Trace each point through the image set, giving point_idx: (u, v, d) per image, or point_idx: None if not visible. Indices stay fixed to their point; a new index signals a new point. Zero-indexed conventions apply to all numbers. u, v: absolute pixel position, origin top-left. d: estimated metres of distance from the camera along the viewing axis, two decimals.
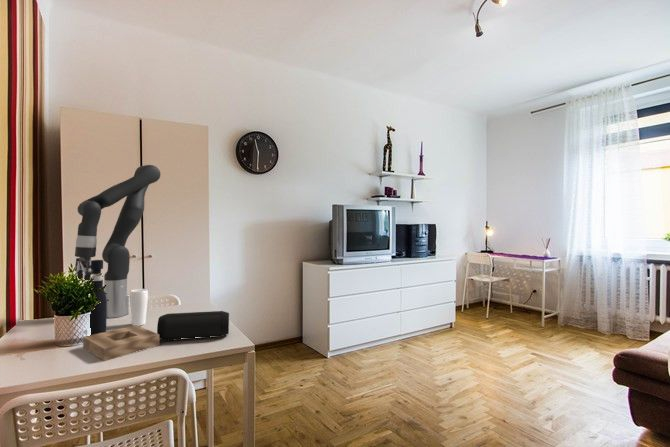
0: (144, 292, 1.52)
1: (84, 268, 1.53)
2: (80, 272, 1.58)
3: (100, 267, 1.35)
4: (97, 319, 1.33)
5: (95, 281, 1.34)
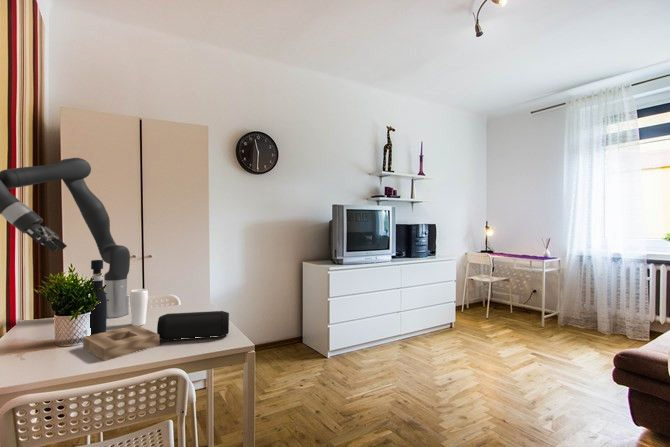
0: (144, 292, 1.52)
1: (37, 238, 1.26)
2: (55, 240, 1.34)
3: (100, 267, 1.35)
4: (97, 319, 1.33)
5: (95, 281, 1.34)
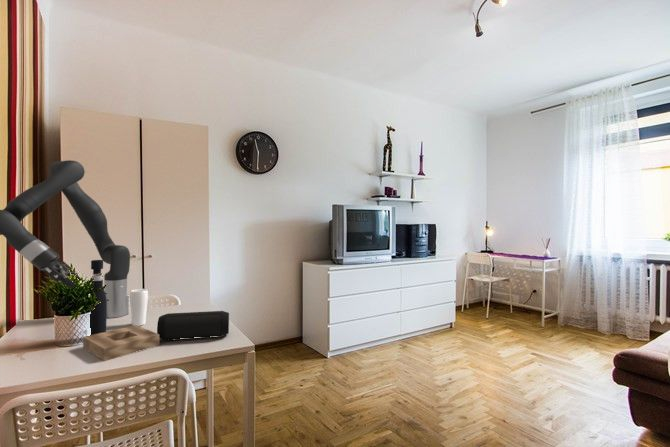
0: (144, 292, 1.52)
1: (55, 276, 1.28)
2: None
3: (100, 267, 1.35)
4: (97, 319, 1.33)
5: (95, 281, 1.34)
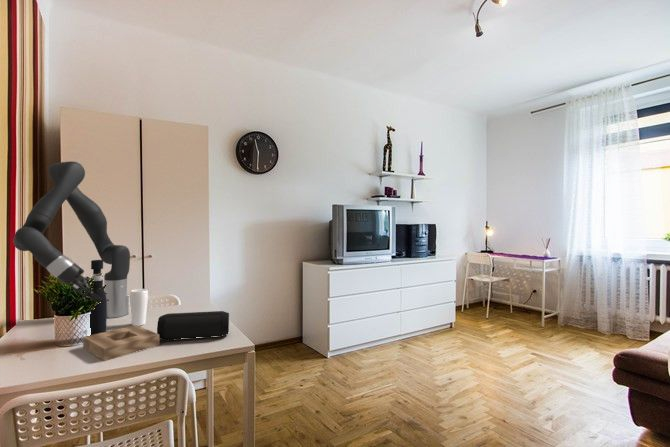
0: (144, 292, 1.52)
1: None
2: None
3: (100, 267, 1.35)
4: (97, 319, 1.33)
5: (95, 281, 1.34)
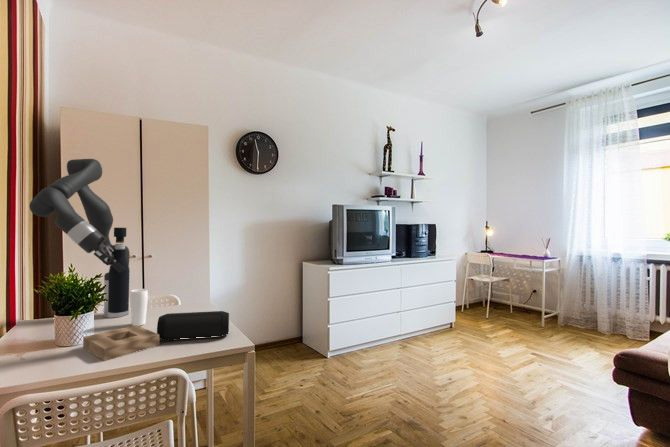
0: (144, 292, 1.52)
1: (104, 259, 1.23)
2: None
3: (123, 235, 1.26)
4: (120, 290, 1.25)
5: (118, 249, 1.25)
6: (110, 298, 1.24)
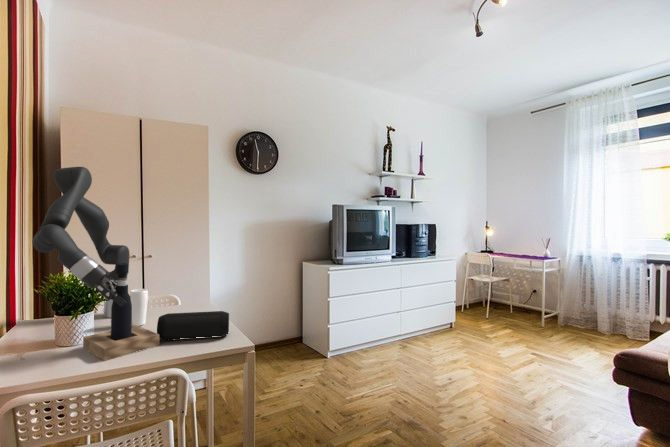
0: (144, 292, 1.52)
1: (106, 294, 1.22)
2: None
3: (126, 271, 1.26)
4: (122, 327, 1.25)
5: (120, 286, 1.26)
6: (113, 335, 1.25)
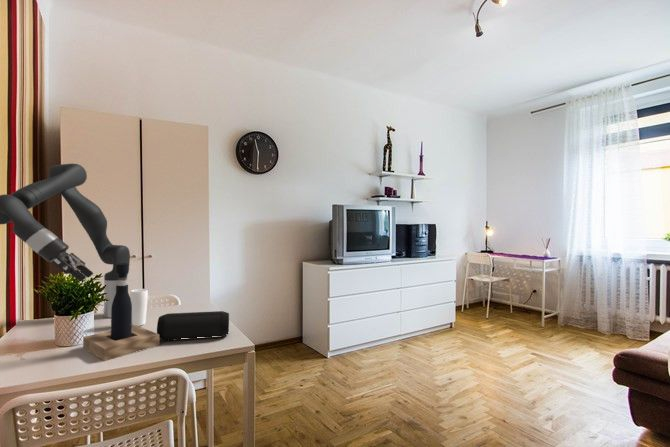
0: (144, 292, 1.52)
1: (64, 268, 1.18)
2: (81, 267, 1.26)
3: (126, 271, 1.27)
4: (122, 327, 1.25)
5: (120, 286, 1.26)
6: (113, 335, 1.25)
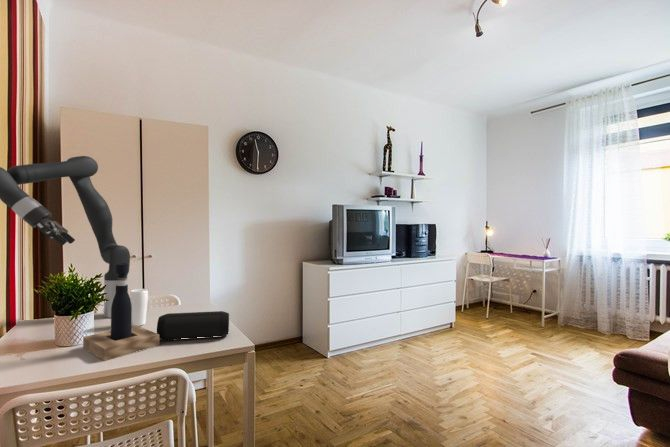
0: (144, 292, 1.52)
1: (47, 232, 1.29)
2: (63, 234, 1.37)
3: (125, 271, 1.26)
4: (122, 327, 1.25)
5: (120, 286, 1.26)
6: (113, 335, 1.25)
